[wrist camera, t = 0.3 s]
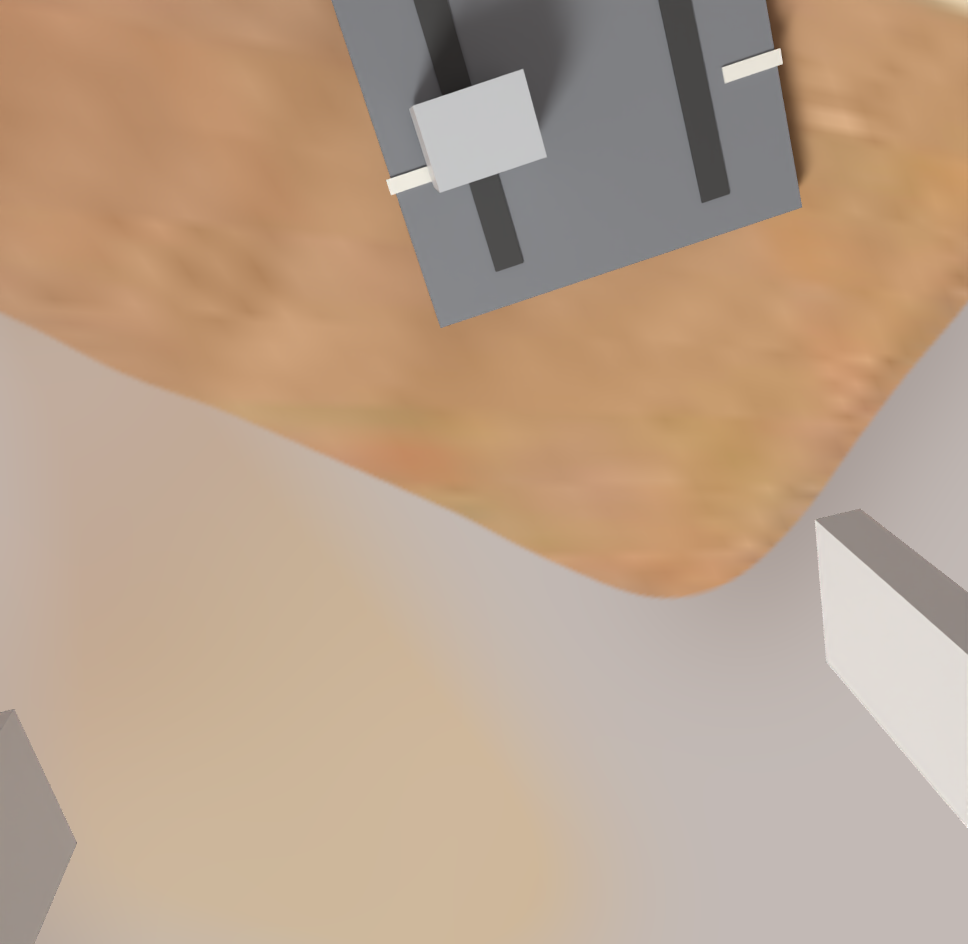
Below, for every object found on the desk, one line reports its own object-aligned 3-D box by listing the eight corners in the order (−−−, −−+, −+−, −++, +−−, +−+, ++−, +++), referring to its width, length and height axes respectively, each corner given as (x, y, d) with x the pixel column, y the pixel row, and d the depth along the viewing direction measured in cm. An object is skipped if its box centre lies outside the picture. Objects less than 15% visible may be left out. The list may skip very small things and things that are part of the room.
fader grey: (408, 109, 35) (412, 105, 32) (507, 75, 35) (523, 68, 32) (433, 186, 36) (440, 192, 33) (529, 154, 36) (546, 156, 33)
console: (257, -204, 33) (252, -220, 32) (692, -351, 33) (707, -374, 31) (434, 322, 40) (436, 329, 39) (791, 203, 40) (807, 206, 39)
